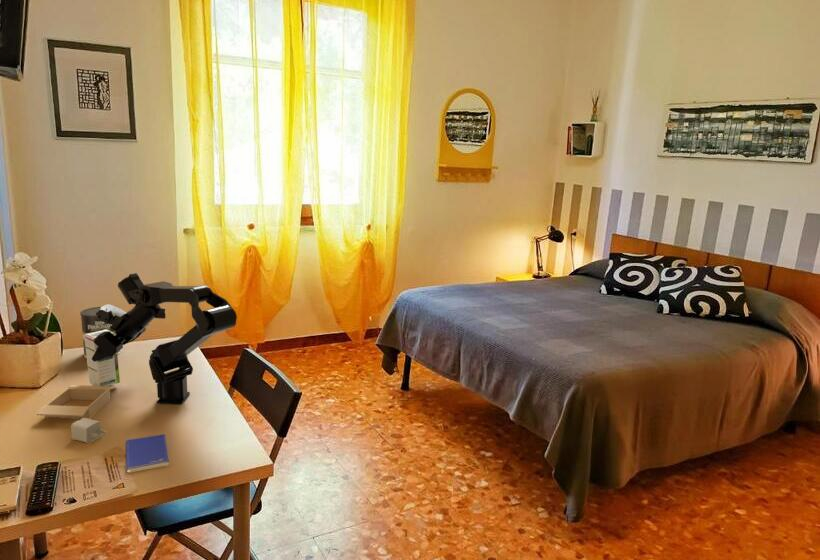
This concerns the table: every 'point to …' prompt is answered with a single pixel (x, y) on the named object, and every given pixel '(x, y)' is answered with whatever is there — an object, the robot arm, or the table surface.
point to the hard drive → (146, 453)
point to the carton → (82, 393)
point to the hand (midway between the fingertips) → (100, 354)
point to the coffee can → (92, 324)
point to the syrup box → (101, 364)
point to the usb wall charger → (86, 430)
